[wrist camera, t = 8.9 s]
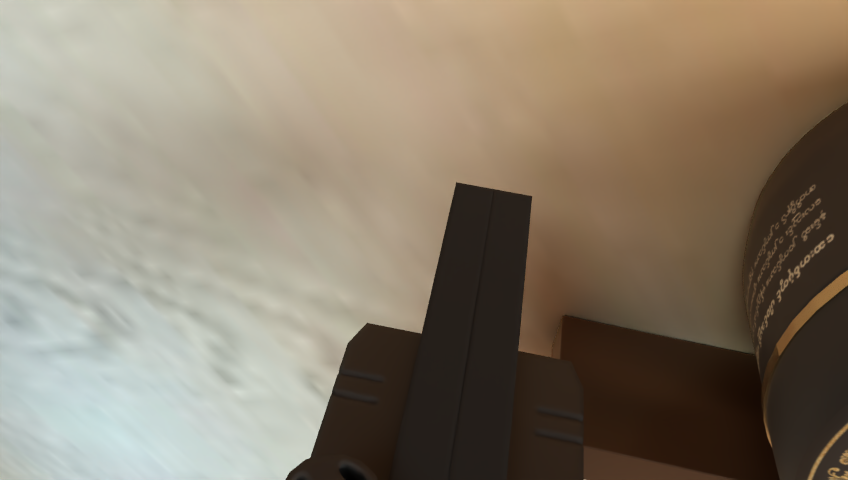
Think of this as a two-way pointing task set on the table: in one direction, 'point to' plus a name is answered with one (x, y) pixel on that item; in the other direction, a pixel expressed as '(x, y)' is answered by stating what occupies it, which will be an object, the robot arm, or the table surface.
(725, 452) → the corner fence
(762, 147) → the table surface
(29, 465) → the table surface
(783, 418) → the jar
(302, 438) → the table surface
